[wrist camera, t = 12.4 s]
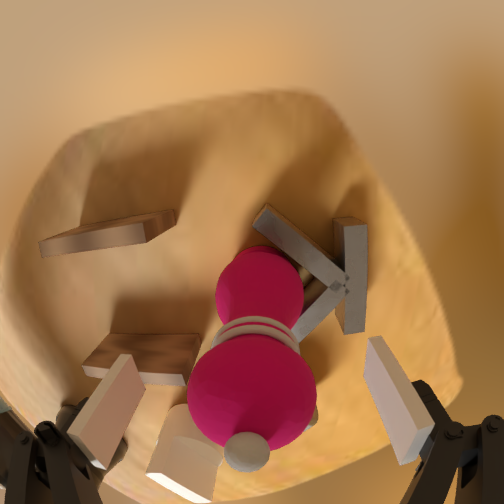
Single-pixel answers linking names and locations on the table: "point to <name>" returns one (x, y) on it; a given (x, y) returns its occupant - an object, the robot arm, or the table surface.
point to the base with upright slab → (185, 457)
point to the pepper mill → (254, 362)
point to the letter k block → (325, 270)
